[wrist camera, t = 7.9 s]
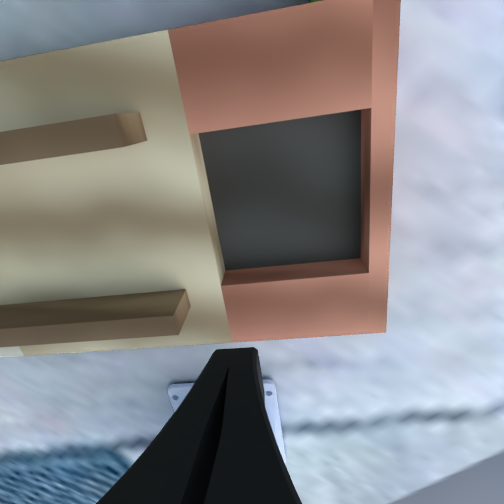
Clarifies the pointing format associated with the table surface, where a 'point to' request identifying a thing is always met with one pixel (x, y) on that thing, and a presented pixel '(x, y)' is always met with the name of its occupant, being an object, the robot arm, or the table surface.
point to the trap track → (201, 183)
